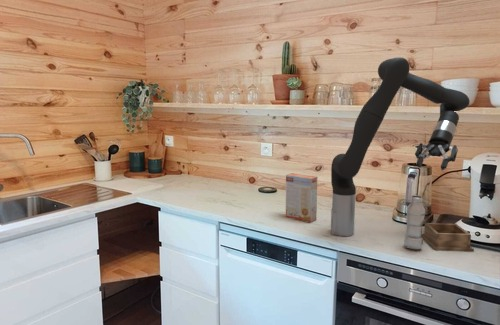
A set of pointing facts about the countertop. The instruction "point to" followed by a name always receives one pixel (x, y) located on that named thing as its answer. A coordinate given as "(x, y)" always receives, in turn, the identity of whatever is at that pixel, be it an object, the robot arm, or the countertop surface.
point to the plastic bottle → (414, 223)
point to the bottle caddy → (447, 237)
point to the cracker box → (301, 197)
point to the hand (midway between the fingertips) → (430, 167)
